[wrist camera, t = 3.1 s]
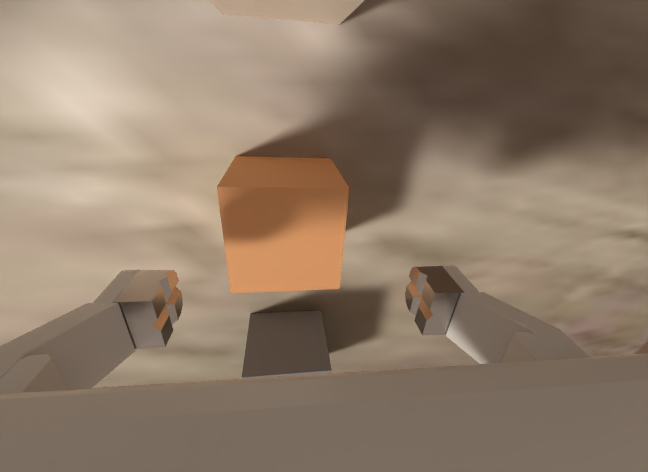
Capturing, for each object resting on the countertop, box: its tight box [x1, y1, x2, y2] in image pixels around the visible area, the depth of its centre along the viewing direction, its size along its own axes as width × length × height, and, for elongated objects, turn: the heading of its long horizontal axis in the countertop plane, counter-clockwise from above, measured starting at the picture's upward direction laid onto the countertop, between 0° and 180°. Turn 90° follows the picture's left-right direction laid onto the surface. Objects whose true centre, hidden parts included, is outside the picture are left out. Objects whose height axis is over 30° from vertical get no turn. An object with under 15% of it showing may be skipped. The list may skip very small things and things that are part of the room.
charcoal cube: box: [242, 310, 332, 379], centre depth 19 cm, size 5×5×5 cm
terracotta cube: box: [217, 156, 349, 293], centre depth 14 cm, size 5×5×5 cm
